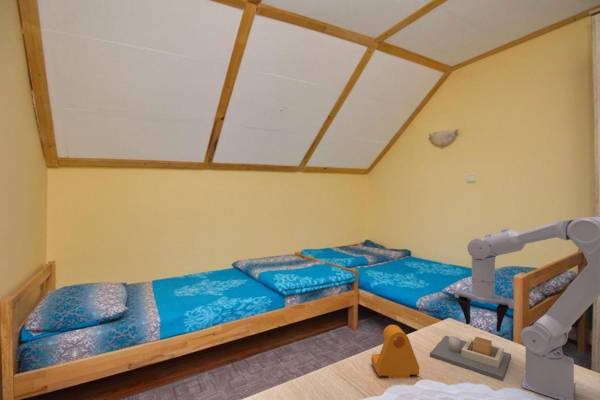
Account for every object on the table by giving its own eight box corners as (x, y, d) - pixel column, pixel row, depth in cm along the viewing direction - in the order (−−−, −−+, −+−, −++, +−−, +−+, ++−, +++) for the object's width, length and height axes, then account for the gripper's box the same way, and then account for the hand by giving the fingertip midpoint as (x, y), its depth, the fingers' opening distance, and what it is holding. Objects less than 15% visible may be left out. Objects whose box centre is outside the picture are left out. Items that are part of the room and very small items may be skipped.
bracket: (407, 362, 87) (407, 320, 87) (419, 377, 80) (419, 331, 80) (370, 363, 86) (370, 321, 86) (378, 378, 79) (378, 332, 79)
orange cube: (491, 356, 88) (491, 340, 88) (489, 362, 85) (489, 345, 85) (475, 351, 91) (476, 336, 91) (472, 357, 88) (472, 341, 88)
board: (511, 357, 89) (511, 342, 89) (502, 380, 78) (502, 363, 78) (445, 338, 101) (445, 324, 101) (429, 356, 90) (429, 341, 90)
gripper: (451, 278, 90) (451, 324, 90) (511, 287, 80) (511, 339, 80) (458, 273, 95) (458, 317, 95) (515, 282, 86) (514, 330, 86)
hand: (482, 326), depth 88 cm, fingers open, 7 cm apart
